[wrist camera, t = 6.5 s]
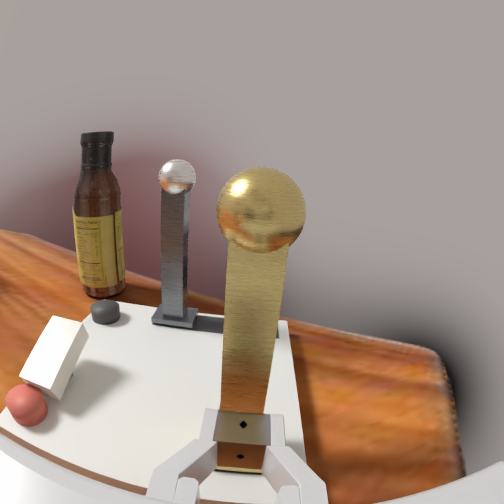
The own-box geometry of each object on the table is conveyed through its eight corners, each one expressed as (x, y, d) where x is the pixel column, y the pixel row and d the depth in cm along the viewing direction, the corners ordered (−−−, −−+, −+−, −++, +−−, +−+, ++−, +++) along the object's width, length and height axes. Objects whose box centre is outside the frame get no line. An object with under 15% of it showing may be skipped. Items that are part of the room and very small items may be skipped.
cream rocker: (29, 388, 15) (19, 376, 14) (59, 328, 20) (52, 315, 19) (60, 400, 15) (50, 389, 14) (89, 336, 20) (82, 322, 19)
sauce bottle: (106, 276, 39) (105, 134, 33) (136, 288, 37) (137, 131, 31) (71, 291, 33) (65, 133, 27) (99, 306, 31) (94, 128, 25)
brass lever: (206, 467, 13) (210, 163, 8) (214, 417, 16) (226, 163, 12) (265, 472, 13) (321, 174, 8) (265, 422, 16) (302, 170, 12)
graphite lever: (151, 322, 26) (149, 158, 22) (160, 307, 29) (161, 158, 25) (192, 328, 26) (197, 160, 22) (198, 312, 29) (204, 160, 25)
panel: (2, 435, 11) (-14, 410, 10) (106, 310, 30) (103, 289, 30) (304, 512, 11) (316, 494, 10) (284, 333, 30) (288, 310, 30)
